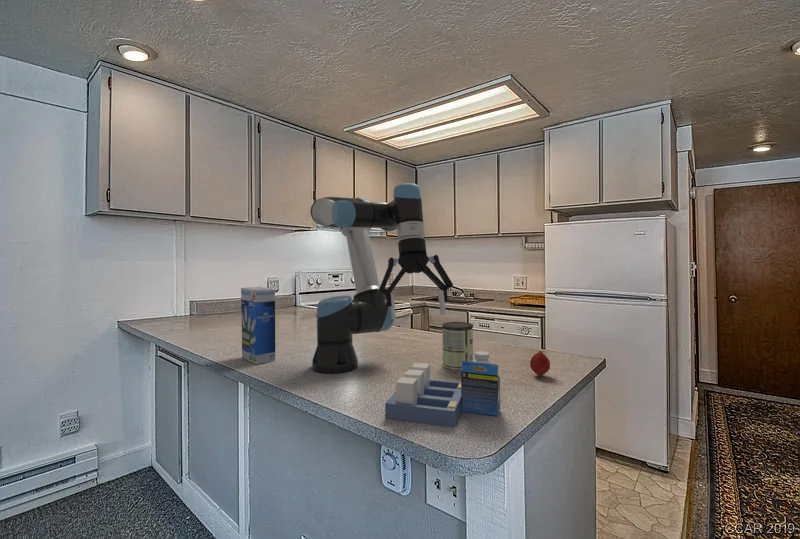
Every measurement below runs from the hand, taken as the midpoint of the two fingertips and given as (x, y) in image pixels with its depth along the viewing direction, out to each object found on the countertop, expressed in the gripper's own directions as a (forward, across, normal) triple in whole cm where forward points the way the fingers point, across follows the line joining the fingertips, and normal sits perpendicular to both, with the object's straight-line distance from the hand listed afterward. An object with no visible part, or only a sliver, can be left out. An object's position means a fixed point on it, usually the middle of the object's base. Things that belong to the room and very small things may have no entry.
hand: (418, 317), depth 106 cm
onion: (+21, +39, +12) cm, 46 cm away
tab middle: (+20, -4, -4) cm, 20 cm away
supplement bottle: (+21, +18, +6) cm, 28 cm away
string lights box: (+10, -50, +47) cm, 70 cm away
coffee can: (+17, +17, +27) cm, 36 cm away
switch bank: (+22, -1, -5) cm, 23 cm away
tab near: (+20, -7, -10) cm, 24 cm away
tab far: (+19, -1, +2) cm, 19 cm away
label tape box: (+24, +11, -10) cm, 28 cm away
